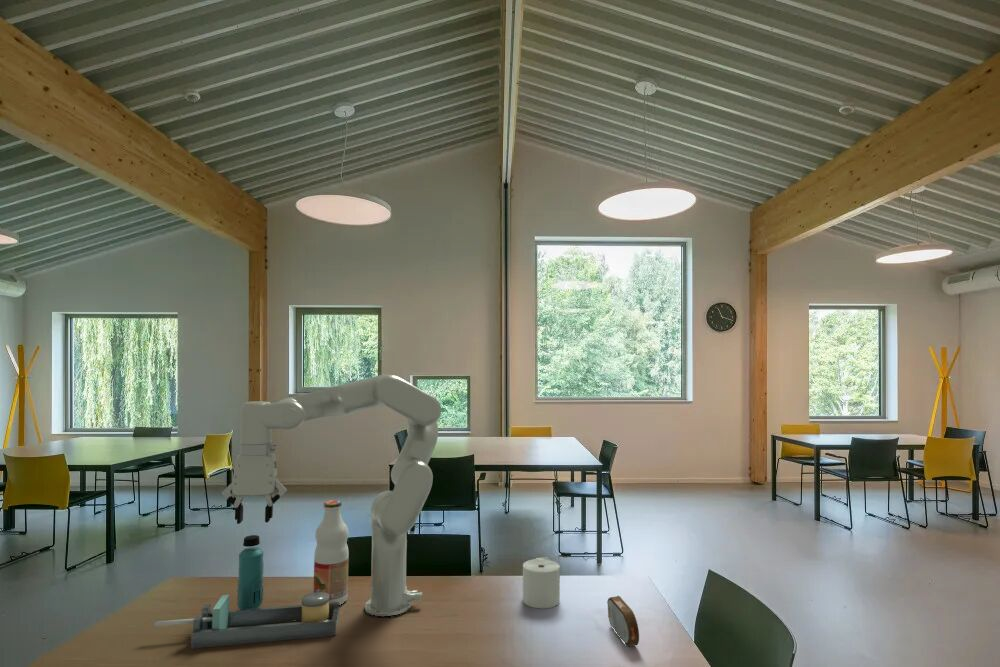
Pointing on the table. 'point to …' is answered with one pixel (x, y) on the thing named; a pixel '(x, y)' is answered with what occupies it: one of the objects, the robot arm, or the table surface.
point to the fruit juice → (332, 554)
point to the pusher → (217, 619)
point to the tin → (623, 620)
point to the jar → (315, 606)
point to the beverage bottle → (250, 575)
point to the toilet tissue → (541, 583)
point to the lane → (261, 626)
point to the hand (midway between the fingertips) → (253, 521)
